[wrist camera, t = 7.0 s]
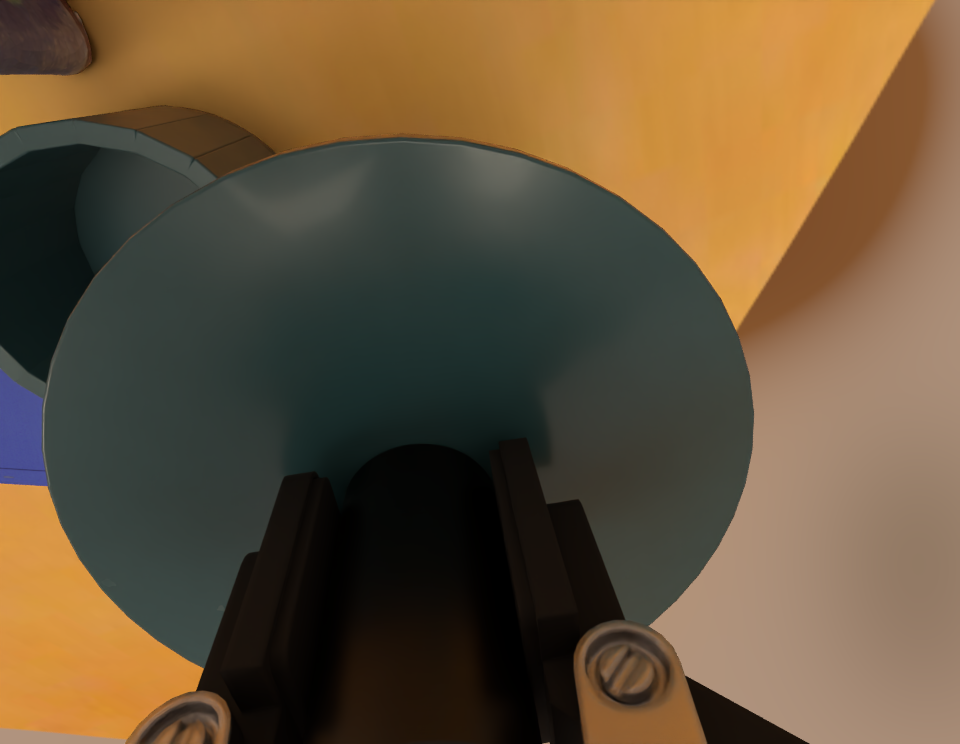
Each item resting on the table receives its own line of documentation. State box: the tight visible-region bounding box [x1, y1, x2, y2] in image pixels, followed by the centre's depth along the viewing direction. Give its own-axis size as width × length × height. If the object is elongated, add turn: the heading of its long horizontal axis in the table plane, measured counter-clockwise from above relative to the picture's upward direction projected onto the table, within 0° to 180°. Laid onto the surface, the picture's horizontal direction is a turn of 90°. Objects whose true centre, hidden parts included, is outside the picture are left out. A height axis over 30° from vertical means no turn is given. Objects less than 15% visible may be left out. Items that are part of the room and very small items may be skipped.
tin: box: [0, 105, 276, 399], centre depth 26 cm, size 12×12×8 cm
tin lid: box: [41, 133, 754, 744], centre depth 10 cm, size 14×14×7 cm
